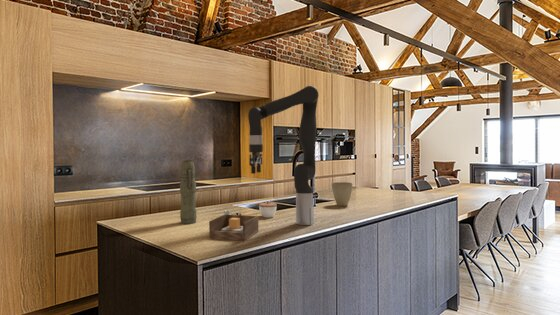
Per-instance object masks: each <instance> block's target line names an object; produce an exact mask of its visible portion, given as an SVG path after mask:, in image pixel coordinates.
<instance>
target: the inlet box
mask: <svg viewBox="0 0 560 315" xmlns="http://www.w3.org/2000/svg"><path fill="white" fill-rule="evenodd" d="M231 218H240V228H239V229H229V219H231ZM208 223H209V228H208V230H209V233H208V234H209V237H208V238H209V239H217V240H218V239H219V240H229V241H243V242H246V241H247V240H249V239H250V238H251V237H253V236H255V235H256V234H258V233H259V216H258V215H247V214H244V215H243V214H241V215H239V214H238V215H236V214H231V215H229V214H225V215H224V214H223V215H221V216H219V217H216V218H213V219H212V220H209V222H208Z"/></svg>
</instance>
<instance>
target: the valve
mask: <svg viewBox="0 0 560 315" xmlns="http://www.w3.org/2000/svg"><path fill="white" fill-rule="evenodd" d="M231 213H232V210H230V209H226V210H224V211H223V215H225V214H229V215H232V214H231ZM235 215H242V214H241V213H239V212H236V213H235Z"/></svg>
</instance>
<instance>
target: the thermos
mask: <svg viewBox="0 0 560 315" xmlns="http://www.w3.org/2000/svg"><path fill="white" fill-rule="evenodd" d="M195 169H196V168H195V163H194V161H193V160H183V161H181V165H180V175H181V176H180V180H179V192H180V212H179V214H180V216H179V217H180V224H181V225H192V224H196V223H197V218H198V217H197V209H196V193H197V182H196V178H195V174H196V172H195Z"/></svg>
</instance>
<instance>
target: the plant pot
mask: <svg viewBox="0 0 560 315" xmlns="http://www.w3.org/2000/svg"><path fill="white" fill-rule="evenodd" d="M353 185H354V183H353V182H347V181H344V182H343V181H339V182H337V181H336V182H331V189H332V194H333V198H334V200H335V204H336V206H338V207H346V206H348V205H349V202H350V198H351V196H352V190H353Z"/></svg>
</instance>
